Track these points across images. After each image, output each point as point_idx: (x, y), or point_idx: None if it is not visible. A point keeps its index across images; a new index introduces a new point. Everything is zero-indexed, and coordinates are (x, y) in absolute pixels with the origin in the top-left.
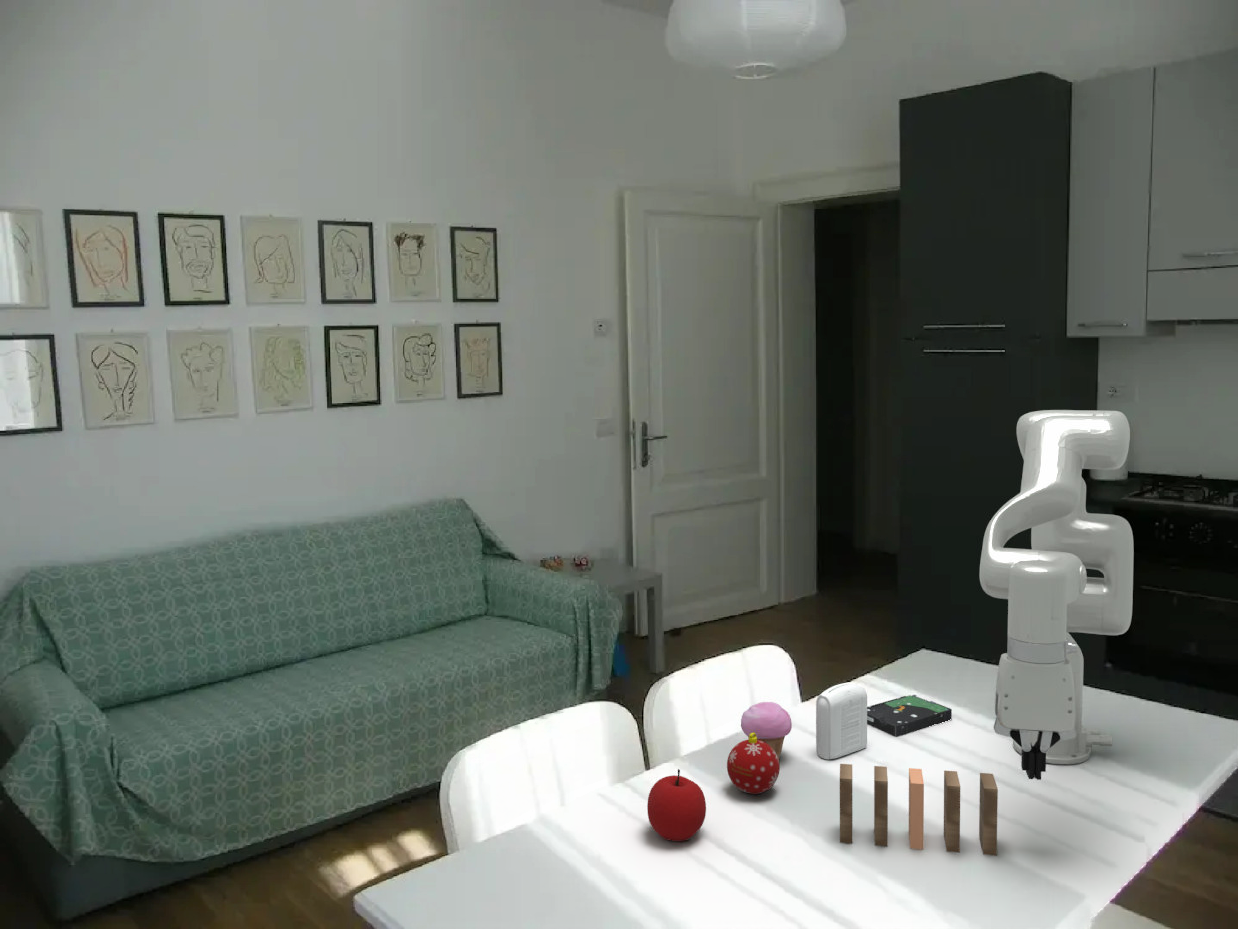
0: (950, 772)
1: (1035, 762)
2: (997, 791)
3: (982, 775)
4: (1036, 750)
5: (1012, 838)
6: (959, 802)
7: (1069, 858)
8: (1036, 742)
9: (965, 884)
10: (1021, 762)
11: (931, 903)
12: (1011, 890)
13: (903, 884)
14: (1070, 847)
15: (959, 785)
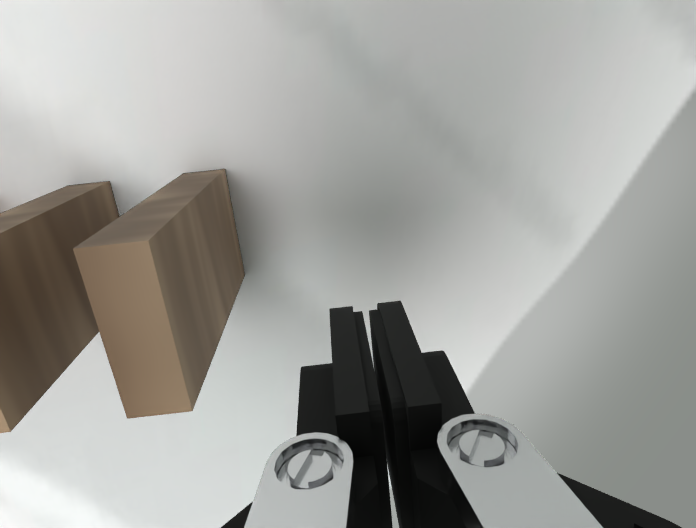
0: None
1: (390, 466)
2: (194, 402)
3: (92, 279)
4: (413, 502)
5: (290, 149)
6: (51, 381)
7: (450, 231)
8: (430, 503)
9: (177, 429)
10: (301, 378)
11: (114, 515)
12: (286, 423)
13: (32, 467)
14: (466, 161)
15: (2, 423)
